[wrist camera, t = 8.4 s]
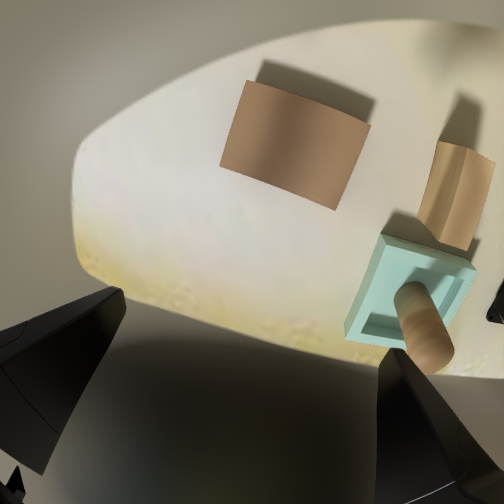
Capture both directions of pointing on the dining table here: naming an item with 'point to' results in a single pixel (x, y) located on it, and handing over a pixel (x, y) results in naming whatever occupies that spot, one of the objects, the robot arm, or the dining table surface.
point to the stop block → (455, 194)
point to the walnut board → (294, 143)
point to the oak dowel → (422, 328)
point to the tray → (396, 275)
